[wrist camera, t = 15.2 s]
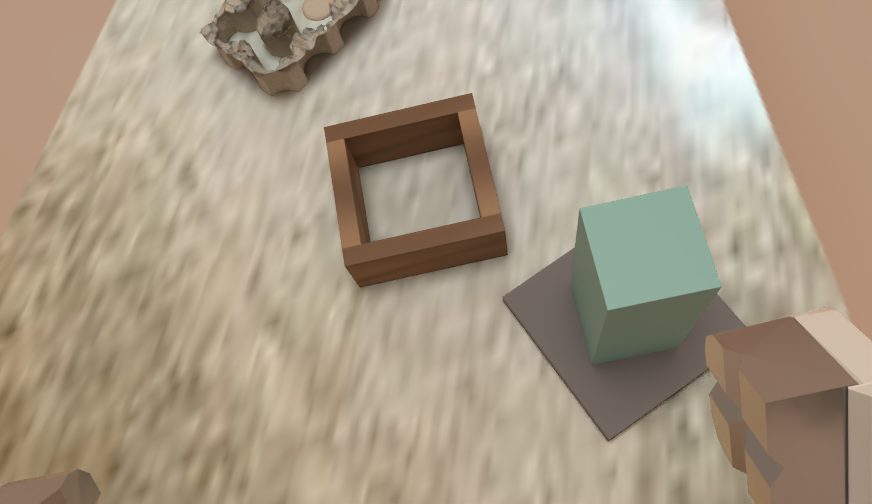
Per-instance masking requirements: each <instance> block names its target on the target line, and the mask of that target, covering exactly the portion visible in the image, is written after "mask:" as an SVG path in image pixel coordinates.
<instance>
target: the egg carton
mask: <svg viewBox="0 0 872 504" xmlns="http://www.w3.org/2000/svg"><path fill="white" fill-rule="evenodd" d="M265 5H266V6H265ZM264 6H265V8H263V7H264ZM378 7H379V6H378V3H377V1H376V0H337V1H336V2H335V0H305V2H304V3H303V8H302V10H303V14H304V16H305V17H306V18H308V19H310V20H314V21H319V20H323V19H325V18H327V17H329V16H330V15H331V16H332V18H333V21H331V22H328V23H327V24H326V25H322V24H321V25H320V26H319V27H317V30H313V29H312V28H305V29H304V30H303V33H302V34H300V32H299V30H298V28H297V26H296V24H295V21H294V19H293V17H292V15H291V13H290V11H289V9H288V8H287V7H286V6H285V5H284V4H282V3H281V2H280V1H279V0H270V1H269V2H268V0H225V2H224V3H223V5H222V7H221V9H220V11H219V12H218V13H217V14H216V15H215V17H214V20H213V21H212V23H210V24H208V25H205V26H204V27H203V28H202V29H201V32H200V33H201V34H202V35H203V36H204V37H205V39H206V40H207V41H208V42H209V43H210V44H211V45H213V46H216V47H217V49H218V50H219V52H220V53H221V55H222V56H223V58H224V59H225V61H226V63H227V64H228V65H229V66H231V67H232V68H234V69H236V70H237V69H238V68H240V67H242V66H244V65H245V67H246V68H248V69H249V70H250V71H251V72H252V73H253V74H254V76H255V78H256V79H257V81H258V82H259V84H260V86H261V88H262V90H264V91H265V92H267V93H268V94H269V95H271V96H273V95H274V94H276V93H278V92H280V91H283V90H293V91H296V92H299V91H300V90H301V89H302V88H303V87H304V86H305V85H306V84H307V83H308V79H307V78H306V75H305V73H304V65H305V63H306V62H307V60H308V59H309V58H311V57H312V56H313V55H315V54H318V53H330V54H333V55H334V54H336V53H337V52H338V51H339V50H340V49H341V48H342V46H343V45H344V42H343V40H342V37H341V35H340V33H339V32H340V28H341V26H342V24H343V23H344V22H345V21H346V20H348V19H349V18H351V17H354V16H365V17H367V18H369V17H371V16H372V15H373V14H374V13H375V12H376V11H377V9H378ZM325 26H326V27H328V28H327V31H325V30H324V27H325ZM256 29H257V32H258V33H259V35H260V37H261V39H262V40H263V42H264V44H265V46H266V47H267V48H266V47H265V48H266V49H267V50H268V51H269V52H270V53H271V54H272V55H274V56H276V57H282V58H281V59H280V60H279V66H278V67H277V68H276V70H275V71H274V70H271V71H266V70H265V69H264V68H263V66H262V64H261V63H260V61H259V59H258V57H257V56H256V54H255V53H254V51H253V49H252V48H251V46H250V44H249V43H247V42H246V41H245V40H240V42H239V43H238V42H237V41H232V42H230V43H228V42H227V41H228V40H229V38H230V37H231V36H232V35H233V34H234V33H236V32H237V31H240V32H253V31H255V30H256ZM292 54H293V57H290V55H292ZM283 57H285V58H283Z"/></svg>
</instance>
